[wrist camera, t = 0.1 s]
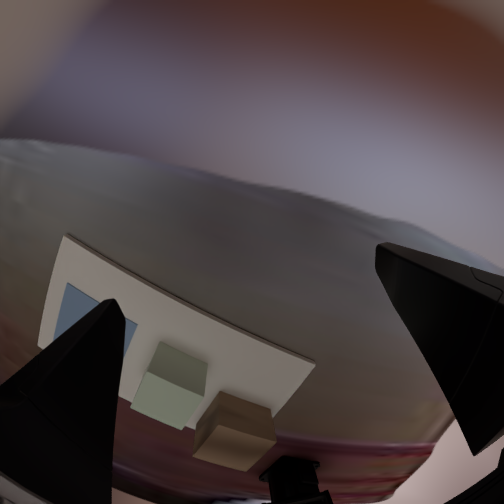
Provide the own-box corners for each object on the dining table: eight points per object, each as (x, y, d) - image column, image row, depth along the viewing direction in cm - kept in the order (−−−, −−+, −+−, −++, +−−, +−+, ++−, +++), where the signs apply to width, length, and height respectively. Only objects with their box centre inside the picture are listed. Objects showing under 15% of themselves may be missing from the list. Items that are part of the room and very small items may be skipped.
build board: (246, 441, 30) (247, 447, 29) (40, 342, 26) (36, 346, 25) (313, 360, 28) (316, 366, 27) (67, 233, 23) (62, 235, 22)
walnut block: (243, 439, 29) (245, 471, 24) (196, 423, 28) (192, 456, 23) (270, 408, 28) (276, 442, 23) (219, 390, 27) (218, 424, 22)
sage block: (187, 396, 27) (181, 430, 22) (143, 376, 26) (130, 407, 21) (208, 363, 26) (204, 397, 21) (159, 340, 25) (147, 371, 20)
